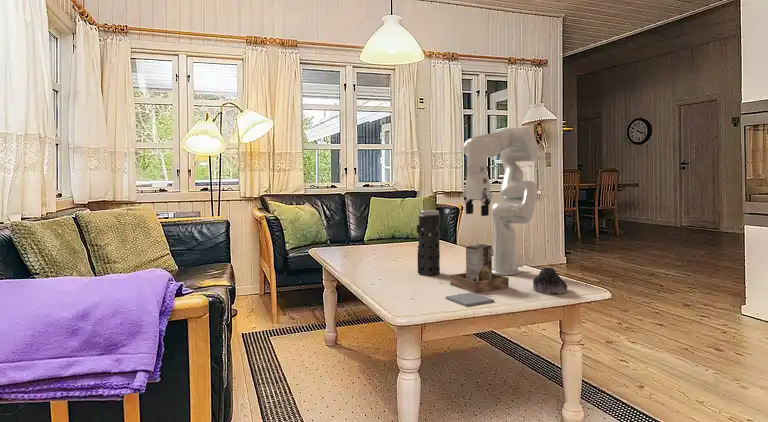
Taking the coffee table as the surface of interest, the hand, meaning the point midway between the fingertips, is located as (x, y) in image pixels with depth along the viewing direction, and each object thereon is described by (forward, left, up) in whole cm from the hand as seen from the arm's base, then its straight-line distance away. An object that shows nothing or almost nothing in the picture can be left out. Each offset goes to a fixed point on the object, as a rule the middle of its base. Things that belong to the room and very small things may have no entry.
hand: (477, 214), depth 196 cm
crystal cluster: (-19, +20, -29) cm, 39 cm away
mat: (+15, +16, -28) cm, 36 cm away
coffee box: (-1, +1, -28) cm, 28 cm away
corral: (-1, +1, -28) cm, 28 cm away
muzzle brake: (+3, -29, -28) cm, 41 cm away
